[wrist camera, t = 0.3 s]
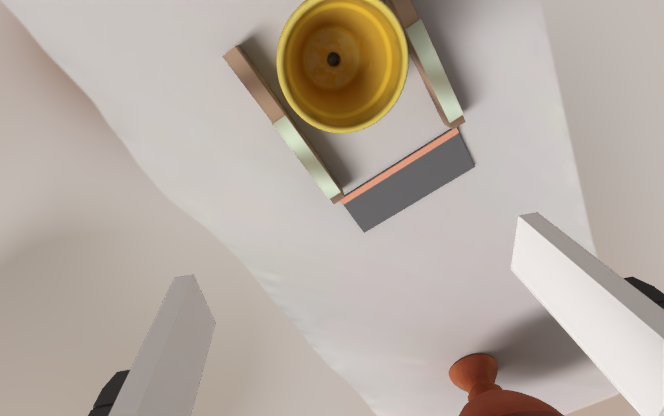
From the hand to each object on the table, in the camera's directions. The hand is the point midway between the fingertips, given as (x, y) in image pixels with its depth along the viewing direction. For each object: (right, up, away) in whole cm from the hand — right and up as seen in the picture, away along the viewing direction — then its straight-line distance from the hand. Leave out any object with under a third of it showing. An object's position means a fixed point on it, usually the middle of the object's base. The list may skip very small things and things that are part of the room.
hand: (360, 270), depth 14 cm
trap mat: (+8, +6, +28) cm, 30 cm away
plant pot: (-1, +18, +21) cm, 27 cm away
